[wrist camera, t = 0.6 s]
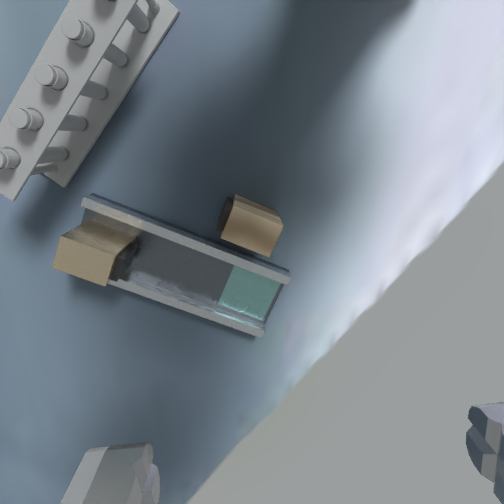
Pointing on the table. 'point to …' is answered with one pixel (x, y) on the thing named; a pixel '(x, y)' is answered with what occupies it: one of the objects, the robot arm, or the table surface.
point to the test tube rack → (77, 86)
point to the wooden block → (250, 225)
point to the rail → (170, 265)
